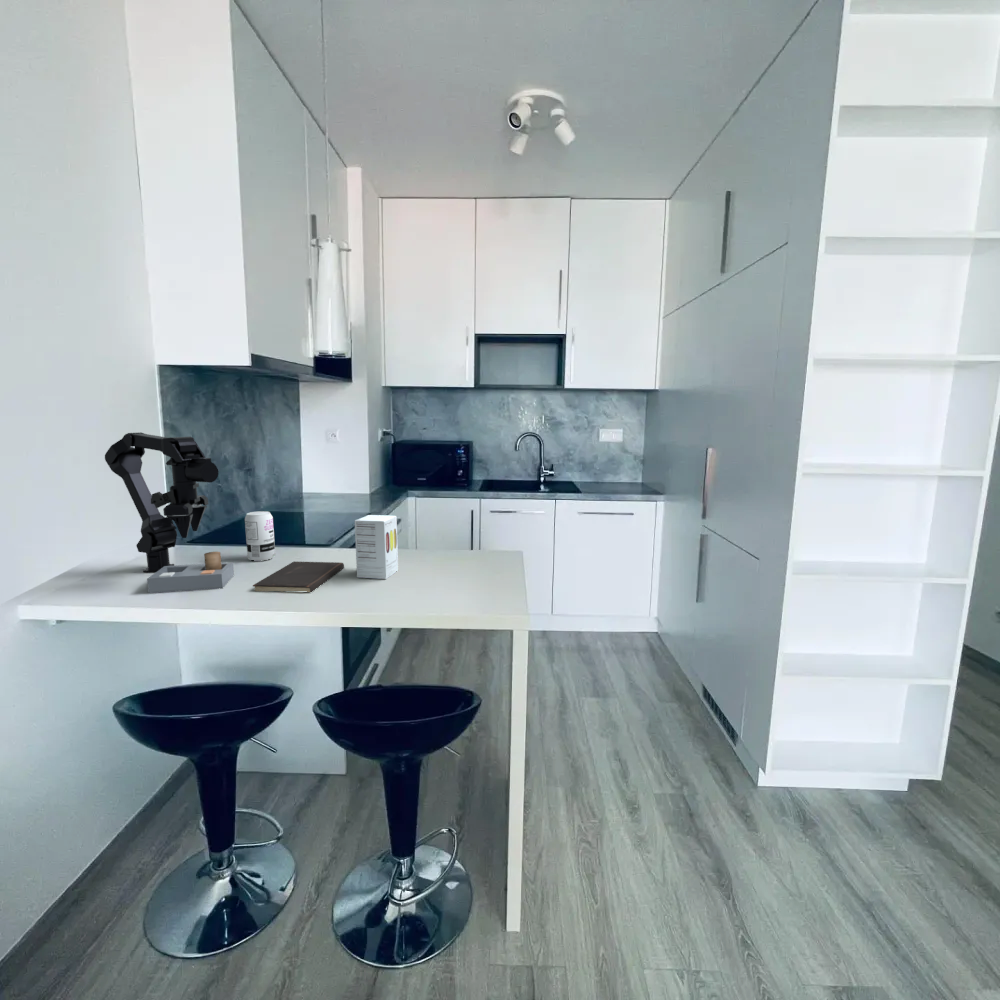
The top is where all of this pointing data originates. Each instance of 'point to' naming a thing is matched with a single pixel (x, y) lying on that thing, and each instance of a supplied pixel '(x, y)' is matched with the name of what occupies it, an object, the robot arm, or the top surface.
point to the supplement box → (376, 546)
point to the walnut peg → (213, 561)
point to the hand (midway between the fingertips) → (189, 534)
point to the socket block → (189, 578)
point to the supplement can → (260, 535)
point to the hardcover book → (299, 576)
